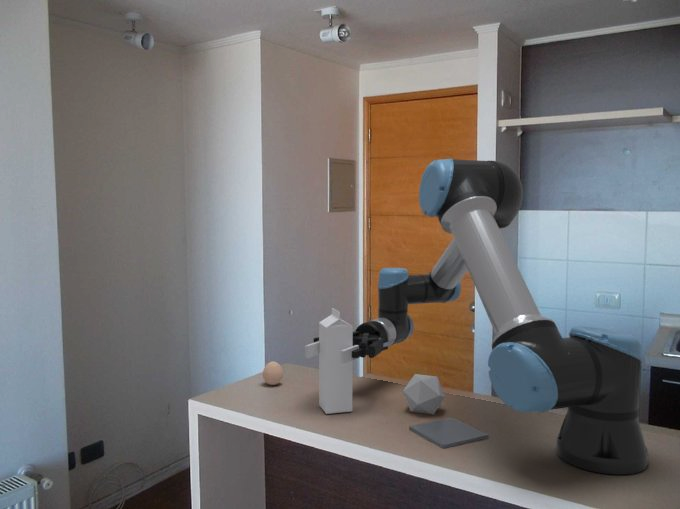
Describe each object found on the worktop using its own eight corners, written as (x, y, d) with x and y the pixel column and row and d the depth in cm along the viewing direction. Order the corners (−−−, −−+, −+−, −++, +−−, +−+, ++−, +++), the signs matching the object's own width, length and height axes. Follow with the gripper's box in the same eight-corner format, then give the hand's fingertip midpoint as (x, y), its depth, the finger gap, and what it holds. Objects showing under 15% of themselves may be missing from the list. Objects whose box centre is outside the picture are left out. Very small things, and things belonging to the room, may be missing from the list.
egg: (287, 385, 153) (286, 362, 153) (269, 389, 150) (269, 365, 150) (276, 380, 157) (276, 358, 157) (259, 384, 154) (258, 361, 154)
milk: (326, 414, 132) (325, 312, 130) (318, 405, 137) (318, 308, 135) (353, 411, 133) (352, 311, 131) (344, 402, 139) (344, 306, 137)
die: (449, 411, 136) (430, 371, 140) (452, 403, 129) (432, 361, 133) (415, 425, 136) (398, 385, 140) (416, 418, 128) (398, 376, 132)
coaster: (488, 437, 119) (488, 434, 119) (443, 448, 114) (443, 445, 114) (452, 420, 129) (452, 417, 129) (409, 429, 123) (409, 426, 123)
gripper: (414, 356, 144) (367, 379, 125) (337, 345, 155) (284, 365, 136) (414, 325, 144) (367, 343, 124) (337, 316, 155) (283, 331, 135)
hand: (323, 354), depth 130 cm, fingers closed on milk, 8 cm apart
